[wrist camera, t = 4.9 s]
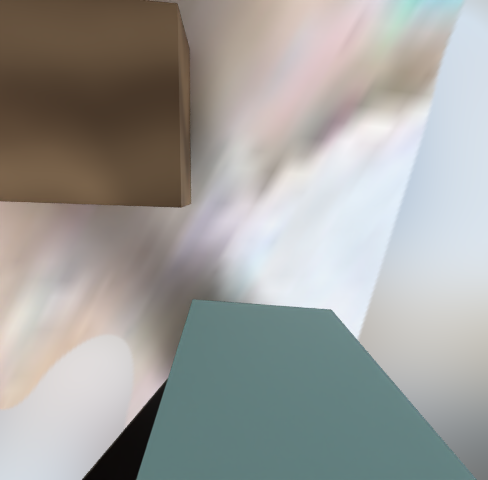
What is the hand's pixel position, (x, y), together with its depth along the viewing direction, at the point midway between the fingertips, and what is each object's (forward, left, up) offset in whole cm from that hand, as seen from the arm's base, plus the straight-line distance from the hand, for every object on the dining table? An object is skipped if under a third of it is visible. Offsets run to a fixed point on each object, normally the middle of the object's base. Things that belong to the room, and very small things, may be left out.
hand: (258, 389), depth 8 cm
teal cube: (0, 0, -1) cm, 1 cm away
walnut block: (+10, +10, -11) cm, 18 cm away
